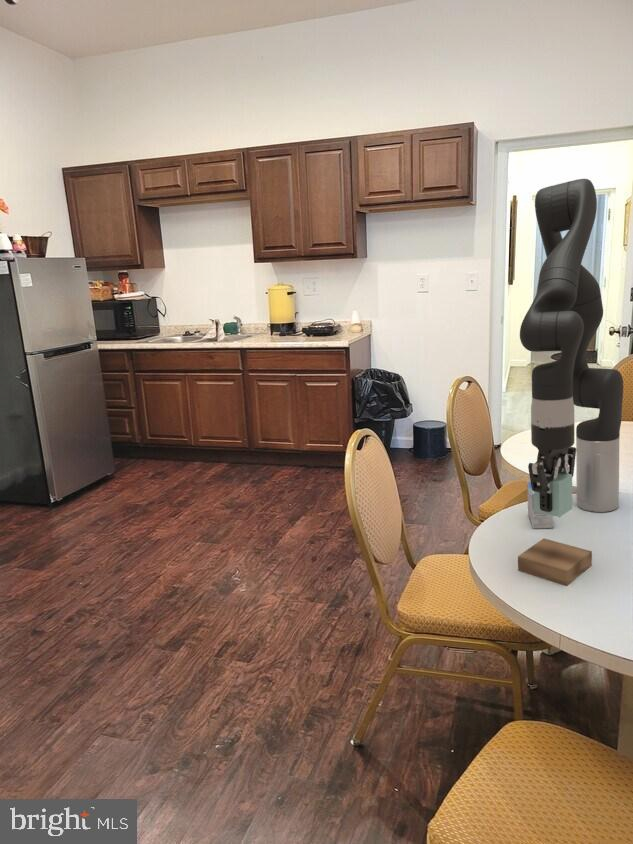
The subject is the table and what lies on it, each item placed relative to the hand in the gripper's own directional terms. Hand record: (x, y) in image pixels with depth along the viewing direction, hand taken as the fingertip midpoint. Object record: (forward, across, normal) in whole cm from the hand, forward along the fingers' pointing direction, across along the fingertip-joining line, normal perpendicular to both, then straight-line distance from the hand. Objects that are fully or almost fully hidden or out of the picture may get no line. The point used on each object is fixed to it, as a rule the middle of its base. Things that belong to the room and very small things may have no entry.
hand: (553, 505), depth 117 cm
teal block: (+1, 0, 0) cm, 1 cm away
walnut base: (+13, 0, 0) cm, 13 cm away
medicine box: (+13, -18, -13) cm, 26 cm away
